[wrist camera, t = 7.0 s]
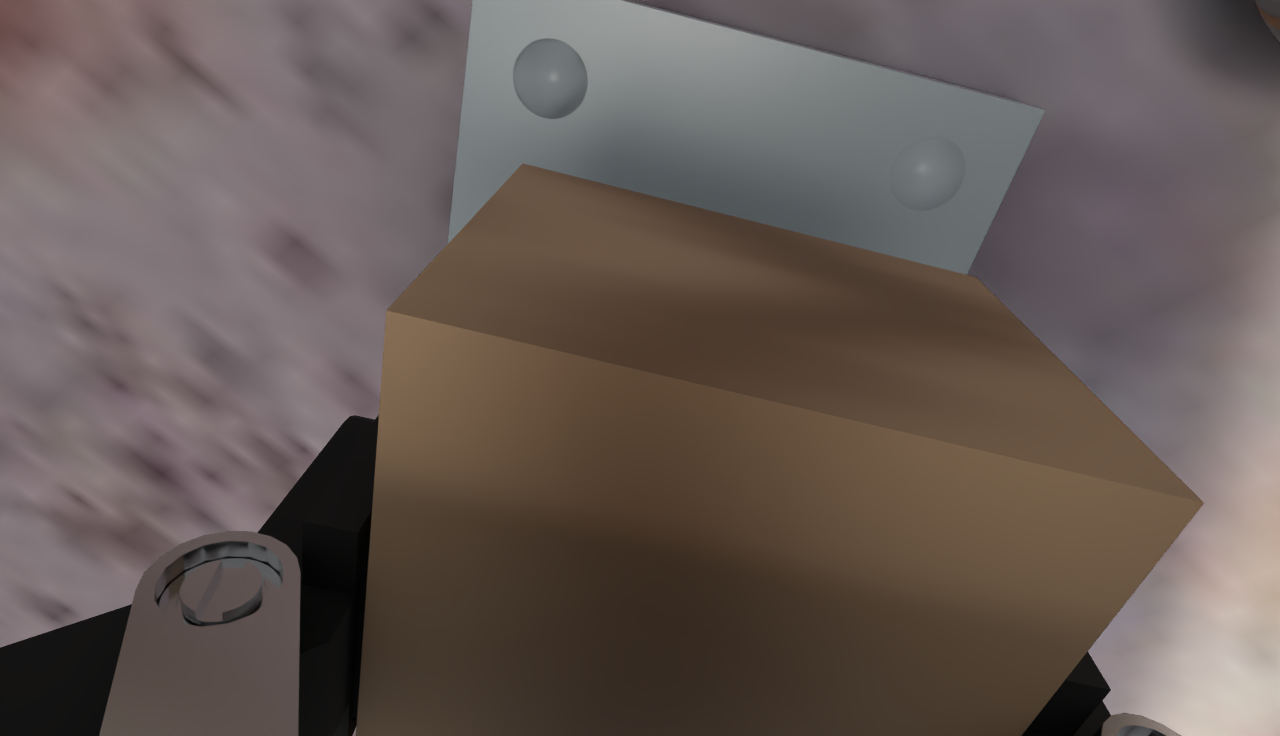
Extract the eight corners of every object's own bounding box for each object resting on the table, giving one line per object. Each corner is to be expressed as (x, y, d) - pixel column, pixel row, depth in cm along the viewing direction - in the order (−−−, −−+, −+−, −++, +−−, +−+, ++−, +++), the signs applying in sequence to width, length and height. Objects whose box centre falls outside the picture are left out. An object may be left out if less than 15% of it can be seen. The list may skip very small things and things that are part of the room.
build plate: (1016, 100, 16) (1045, 109, 15) (831, 505, 22) (840, 539, 20) (494, -35, 16) (476, -38, 14) (443, 418, 21) (426, 447, 20)
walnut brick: (976, 277, 10) (1204, 502, 6) (789, 655, 14) (838, 967, 9) (523, 163, 10) (386, 310, 5) (457, 584, 13) (345, 876, 9)
